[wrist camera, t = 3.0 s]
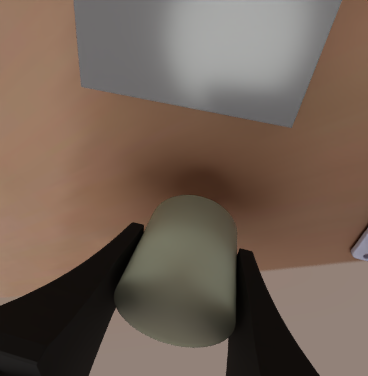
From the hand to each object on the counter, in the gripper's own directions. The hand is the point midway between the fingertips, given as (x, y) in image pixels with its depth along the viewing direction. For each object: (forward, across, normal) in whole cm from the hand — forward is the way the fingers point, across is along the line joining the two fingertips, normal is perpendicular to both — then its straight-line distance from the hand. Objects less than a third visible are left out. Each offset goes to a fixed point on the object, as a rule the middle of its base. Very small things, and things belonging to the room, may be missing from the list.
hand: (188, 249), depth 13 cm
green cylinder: (+2, 0, 0) cm, 2 cm away
